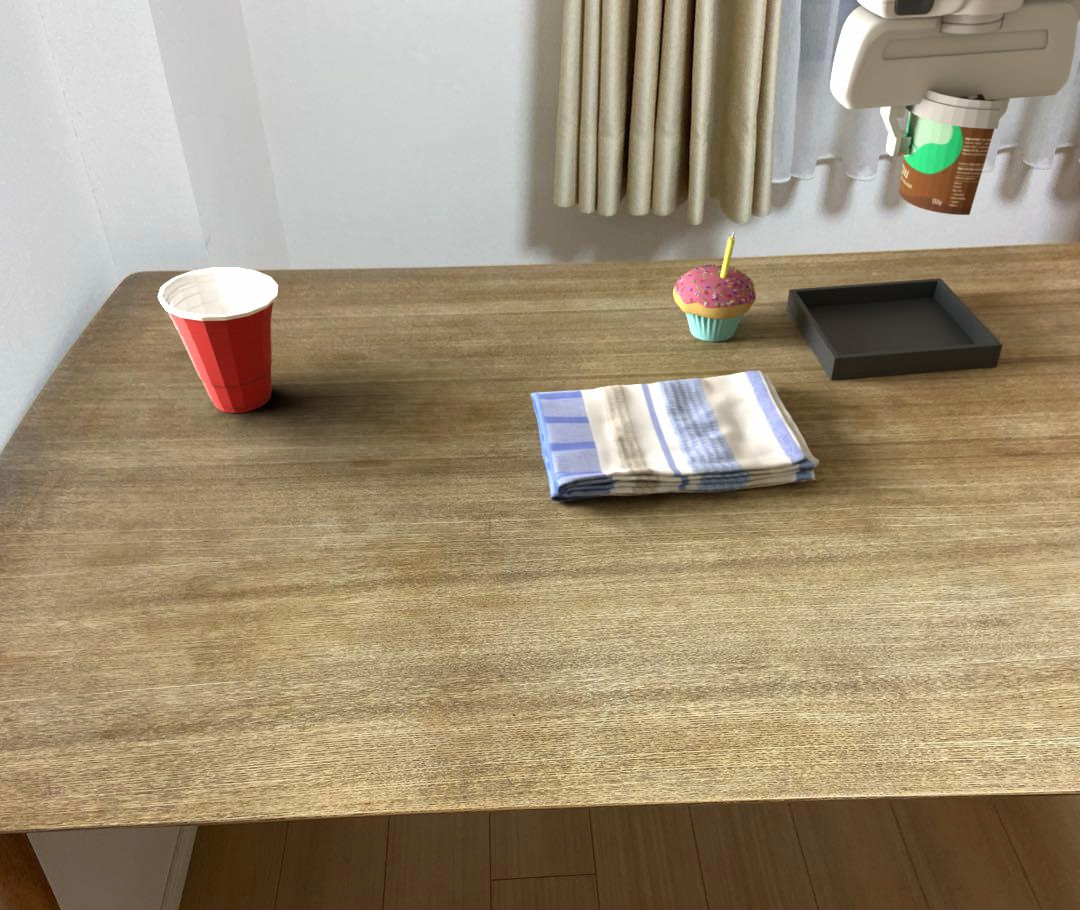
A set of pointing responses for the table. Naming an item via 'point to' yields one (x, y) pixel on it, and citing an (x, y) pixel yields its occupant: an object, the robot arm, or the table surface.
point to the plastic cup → (226, 331)
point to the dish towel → (670, 438)
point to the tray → (891, 329)
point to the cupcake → (714, 298)
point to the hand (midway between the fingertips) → (933, 151)
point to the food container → (947, 151)
